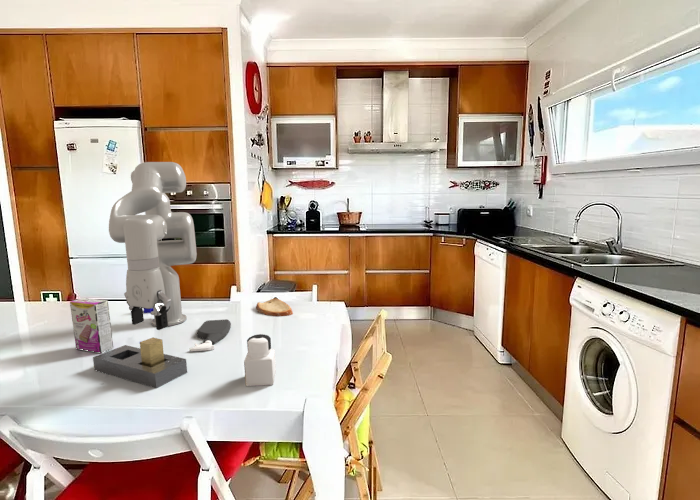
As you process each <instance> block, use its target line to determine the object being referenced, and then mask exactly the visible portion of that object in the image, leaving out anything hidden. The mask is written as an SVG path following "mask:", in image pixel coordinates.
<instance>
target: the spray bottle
mask: <svg viewBox="0 0 700 500" xmlns="http://www.w3.org/2000/svg"><path fill="white" fill-rule="evenodd" d="M231 326H232V323H231V321H230V320H229V319H211V320H205V321H204V322H203V323H202V324H201V325H200V326H199V328H198V330H197V331H196V335H197V338H200V339H202V340H203V339H204V340H203V341H202V343H201V344H198V343H194V345H195V346H193V347H190V348H189V352H202V351H204V352H205V351H212V350H215V344H217V343H218V342H220V341H221V340H223V339H224V338H225V337H226V336H227V335H228V334H229V333H230V331H231Z"/></svg>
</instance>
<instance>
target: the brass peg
mask: <svg viewBox="0 0 700 500" xmlns="http://www.w3.org/2000/svg"><path fill="white" fill-rule="evenodd" d="M139 346H140V347H139V348H140V350H141V359H142V365H144V366H148V367H153V366H156V365H158V364H160V363H162V362H164V354H165V353H164V345H163V339H161V338H157V337H151V338H147V339H144V340H141V341H139Z"/></svg>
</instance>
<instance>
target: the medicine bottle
mask: <svg viewBox="0 0 700 500" xmlns="http://www.w3.org/2000/svg"><path fill="white" fill-rule="evenodd" d="M246 344H247V346H246V347H247V354H246V356H245V358H244V360H243V363H244V365H243V366H244V379H245V381H244V382H245V386H246V387H256V386H257V387H259V386H262V387H263V386H272V385H274V383H275V378H276V375H277V369H276V366H277V364H276V352H275V351H276V350H275V349H274V348H272V341H271V337H270V336H269V335H267V334H263V333H262V334H261V333H260V334H254V335H251V336H249V337H248V338H247V340H246Z"/></svg>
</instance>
